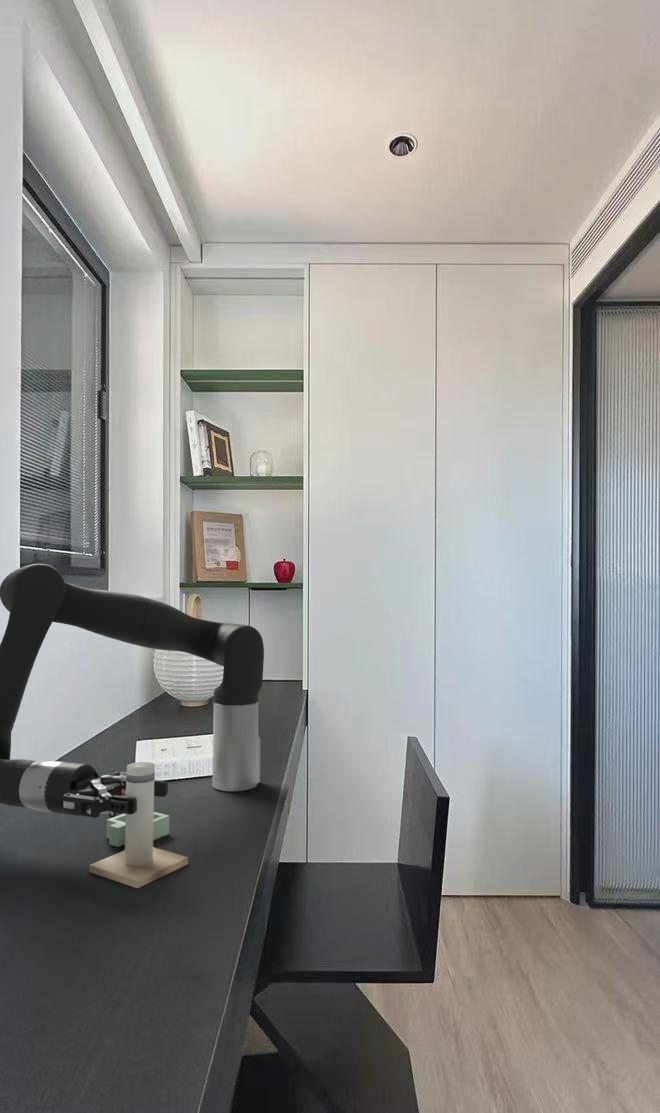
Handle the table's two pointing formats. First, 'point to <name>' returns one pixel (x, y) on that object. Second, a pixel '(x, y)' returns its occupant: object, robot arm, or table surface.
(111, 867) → the oak pad
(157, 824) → the collar
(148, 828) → the thermos bottle
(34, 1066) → the table surface
